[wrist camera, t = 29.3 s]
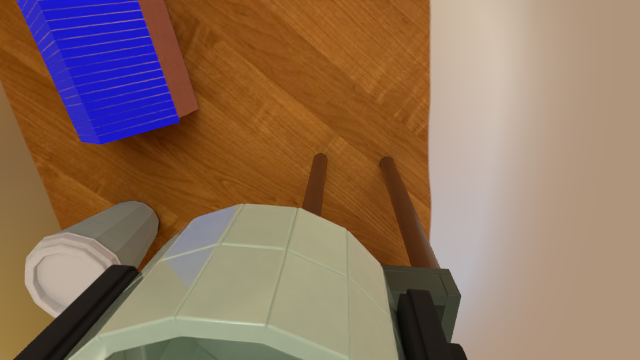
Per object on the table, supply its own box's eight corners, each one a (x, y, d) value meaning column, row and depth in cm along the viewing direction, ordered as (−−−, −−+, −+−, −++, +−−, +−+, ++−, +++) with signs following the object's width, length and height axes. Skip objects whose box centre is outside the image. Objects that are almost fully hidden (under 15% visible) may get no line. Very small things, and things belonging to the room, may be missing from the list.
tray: (395, 155, 45) (461, 295, 20) (380, 278, 52) (416, 493, 27) (313, 151, 45) (279, 283, 21) (309, 274, 52) (281, 481, 28)
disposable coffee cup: (96, 184, 49) (-2, 241, 35) (171, 187, 48) (103, 246, 34) (111, 249, 53) (29, 324, 39) (181, 252, 52) (123, 329, 38)
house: (116, 128, 46) (46, 155, 35) (43, -48, 39) (-73, -82, 28) (202, 110, 44) (157, 133, 33) (143, -75, 37) (61, -123, 26)
